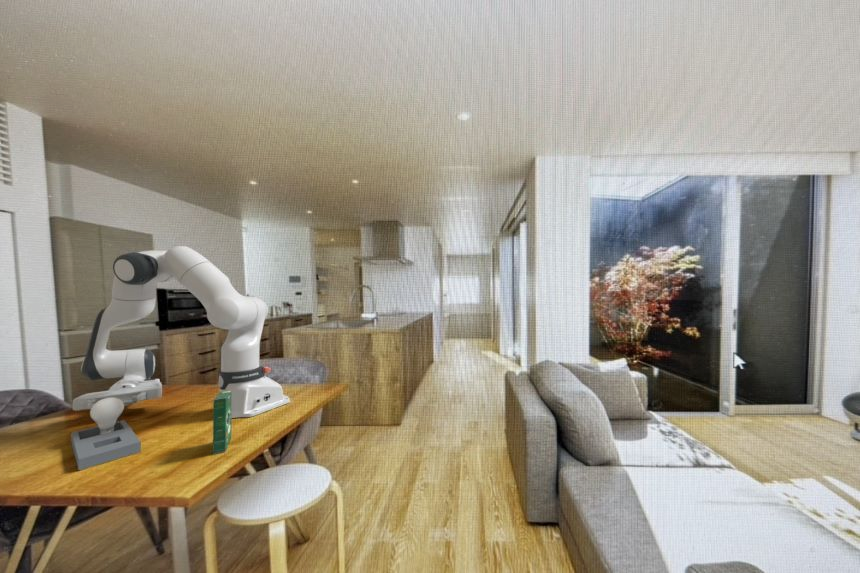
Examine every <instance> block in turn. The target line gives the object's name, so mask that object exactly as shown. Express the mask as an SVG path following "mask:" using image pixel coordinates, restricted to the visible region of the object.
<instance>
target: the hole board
mask: <svg viewBox="0 0 860 573" xmlns="http://www.w3.org/2000/svg"><path fill="white" fill-rule="evenodd" d="M70 435H71V438H70V439H71V446H72V451H73V454H74V459H75V462H76V466H77V470H80V471H83V470H86V469H85V468H87V469H90V468H92V467H91V466H93V467H96V466H99V465H98V464H100V465H103V464H105V462H106V463H109V462H108V461H110V462H113V461H115V459H116V460H119V459H123V458H125V457H128V456H129V457H130V456H133V455H135V453H136V454H138V453H141V452H142V441H141V440H140V438H139V437H138V436H137V435H136V433H135V432H134V431H133V430H132V428H131V427H130V425H129V424H128V423H127V422H126V420H124V419H122V420H119V421H116V424H115V425H114V431H113V432H109V433H105V434H101V435H100V429H99V427H98V425H97V426H92V427H90V428H85V429H80V430H76V431H72V432H71V434H70ZM112 460H113V461H112ZM102 463H103V464H102ZM95 465H96V466H95ZM89 467H90V468H89ZM82 469H83V470H82Z"/></svg>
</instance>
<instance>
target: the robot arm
mask: <svg viewBox="0 0 860 573" xmlns="http://www.w3.org/2000/svg"><path fill="white" fill-rule="evenodd" d="M112 264H113V265H112V269H113V273H114V277H113V282H112V288H111V301H110V303H109V305H108V306H107V307H105V308H102V309H101V310H100V311H99V312H98V313H97V315H96V317H95V319H94V324H93V327H92V330H91V333H90V337H89V342H88V346H87V350H86V354H85V357H84V359H83V361H82V363H81V367H80V372H81V375H82V376H83V377H85V378H86V379H88V380H90V381H94V382H95V381H101V380H106V379H113V378H114V379H115V378H121V379H120V380H118V381H116V382H115V383H114V384H113V385H111V386H110V388H108V390H103V391H95V392H94V391H93V392H88V393H85V394H81V395H80V396H78V397H76V398H74V399H73V400H72V411H83V410H91V408H92V407H93V405H94V404H95V403H97V402H98V401H100V400H102V399H105V398H110V397H114V398H118V399H120V400H121V401H122V402H123V403H124V407H127V406H131V405H132V404H135V403H139V402H140V403H141V402H142V401H149V400H154V399H160V398H161V397H162V394H163V384H162V382H161V381H160V378H151V377H153V375H154V374H155V372H156V369H157V368H156V366H157V359H156V358H157V357H156V355H155V354H154V352H152V350H150V349H149V348H137V349H133V348H132V349H118V350H117V349H116V350H111V349H107V344H108V340H109V337H110V332H111V330H112V329H114V328H116V327H118V326H122V325H125V324H129V323H134V322H137V321H139V320H142V319H144V318H146V317H148V316H149V315H150V314H152V312H154V310H155V307H156V302H157V301H156V300H157V288H156V287H157V284H158V283H165V282H166V283H167V282H170V281H174V280H176V281H177V282H178V283H179V284H180V285H181V286H183V287H184V288H185V289H186V290H187V291H188V292H189V293H191V294H192V295H193V296H194V297H195V298H196V299H197V300H198V301H199V302H200V303H201V305H202V306H203V307H204V309H205V310H206V318H207V320H208V321H209V323H210V324H211V325H212V326H214V327H216V328H218V329H223V330H228V332H227V336H226V338H225V341H224V342H223V344H222V346H221V349H220V355H221V357H220V359H221V360H220V371H219V373H218V374H219V375H218V376H219V377H218V387H219V393H220V392H223V391H231V419H235V418H250V417H251V418H252V417H255V416H257V415H260V414H263V413H266V412H269V411H270V410H273V409H276V408H279V407H281V406H284V405H287V404H289V403H291V398H290V397H289V396H288V395H285V394H284V391H283V387H282V385H281V384H280V383H278V382H276V381H275V380H274V379H272V378H270V377H268V376H266V375H265V374H270V372H271V369H272V368H270V367H269V366H264V367H263V366H261V365H260V346H261V338H262V334H263V329H264V324H265V320H266V319H267V317H268V315H269V307H268V304H267V303H266V302H265V301H264V300H262V299H261V298H259V297H257V296H249V295H248V296H247V295H242V294H240V293H239V292H238V291H237V290H236V289H235V288H234V286H233V285H232V283H231V281H230V278H229V277H228V276H227V275H226V274H225V273H223V271H221V269H219V268H218V267H217V266H216V265H215V264H213V263H212V262H211V261H210V260H209V259H208V258H206V257H205V256H204V255H202V254H201V253H199V252H197V251H196V250H194V249H193V248H191V247H190V246H186V245H176V246H174V247H171V248H169V249H168V250H162V249H161V250H159V249H158V250H157V249H155V250H142V251H137V252H136V251H135V252H134V251H131V252H127V253H124V254H121V255H119V256H117V257H116V258H115V259H114V260H113V263H112Z"/></svg>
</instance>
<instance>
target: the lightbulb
mask: <svg viewBox="0 0 860 573" xmlns="http://www.w3.org/2000/svg"><path fill="white" fill-rule="evenodd" d="M124 409H125V406H124V403H123V402H122V401H121V400H120V399H118V398H114V397H110V398H105V399H102V400H100V401H98V402H97V403H95V404H94V405H93V407H92V408H91V409H90V411H89V416H90V418H91V419H92V420H93V421H94V422H95V423H96V424H97V426H98V427H99V429H100V435H101V434H105V433H109V432H113V431H114V425H115V424H116V422H117V420H118V418H119V417H120V416H121V415H122V413H123V411H124Z"/></svg>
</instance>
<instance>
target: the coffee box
mask: <svg viewBox="0 0 860 573" xmlns="http://www.w3.org/2000/svg"><path fill="white" fill-rule="evenodd" d="M212 401H213V402H212V403H213V404H212V406H213V407H212V409H213V411H212V412H213V414H212V416H213V417H212V455H216V454H222V453H224V452H226V451H227V449H228V446H229V445H230V442H231V439H232V418H231V391H223V392H220V391H219V393H218V394H217V395H216V396H215V397H214V398H213V400H212Z"/></svg>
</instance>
